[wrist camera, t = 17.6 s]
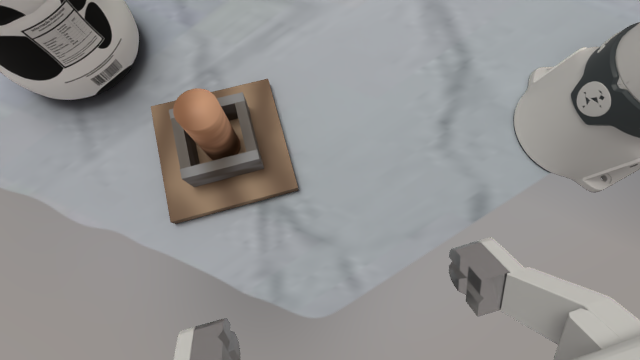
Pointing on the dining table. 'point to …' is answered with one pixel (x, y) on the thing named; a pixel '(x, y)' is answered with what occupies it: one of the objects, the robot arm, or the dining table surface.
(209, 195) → the stand
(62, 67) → the milk container
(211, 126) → the post
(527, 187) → the dining table surface
